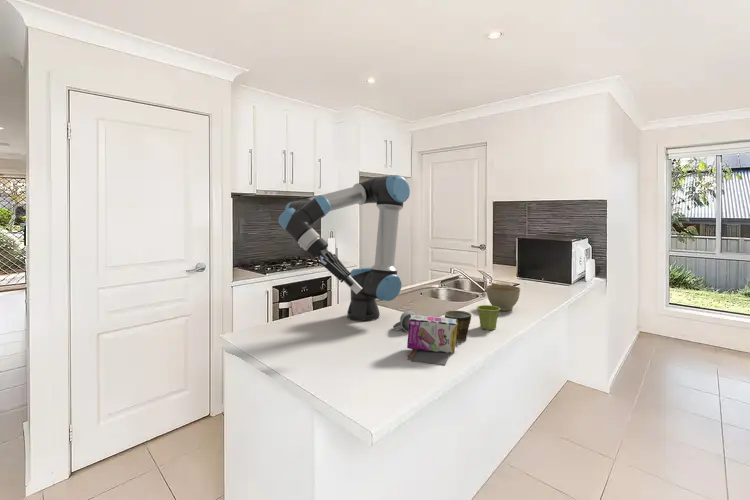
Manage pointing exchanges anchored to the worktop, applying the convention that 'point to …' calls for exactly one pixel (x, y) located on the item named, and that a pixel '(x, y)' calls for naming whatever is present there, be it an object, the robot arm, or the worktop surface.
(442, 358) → the mat
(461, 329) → the ceramic cup
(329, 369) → the worktop surface
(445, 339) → the candy bar box
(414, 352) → the strip
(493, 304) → the planter bowl
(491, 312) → the plant pot
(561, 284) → the worktop surface
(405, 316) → the ceramic mug
